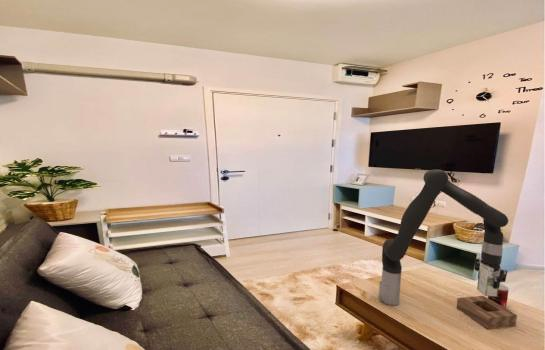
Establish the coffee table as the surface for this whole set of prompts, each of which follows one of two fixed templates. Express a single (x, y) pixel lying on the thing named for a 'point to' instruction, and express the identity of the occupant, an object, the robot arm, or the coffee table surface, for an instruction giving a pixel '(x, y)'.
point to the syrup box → (486, 281)
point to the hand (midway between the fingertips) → (488, 284)
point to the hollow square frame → (486, 312)
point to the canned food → (501, 296)
